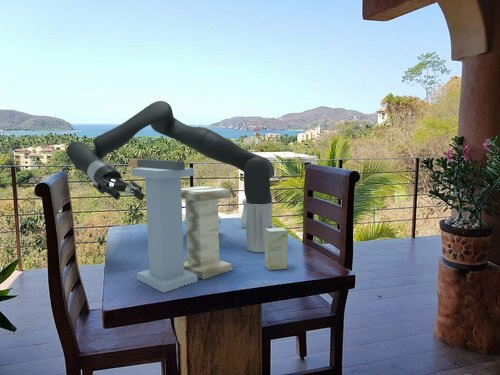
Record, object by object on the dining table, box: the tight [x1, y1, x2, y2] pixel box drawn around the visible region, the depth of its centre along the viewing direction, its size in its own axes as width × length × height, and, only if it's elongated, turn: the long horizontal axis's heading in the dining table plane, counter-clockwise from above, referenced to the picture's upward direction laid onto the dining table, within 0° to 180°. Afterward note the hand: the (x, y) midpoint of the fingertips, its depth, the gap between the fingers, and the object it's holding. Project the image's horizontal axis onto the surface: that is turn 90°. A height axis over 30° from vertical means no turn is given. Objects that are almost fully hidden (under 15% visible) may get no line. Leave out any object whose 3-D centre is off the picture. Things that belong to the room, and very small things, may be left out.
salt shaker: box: [240, 198, 246, 229], centre depth 174 cm, size 6×6×13 cm
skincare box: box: [264, 227, 289, 271], centre depth 120 cm, size 6×4×12 cm
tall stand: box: [131, 167, 198, 294], centre depth 109 cm, size 14×11×32 cm
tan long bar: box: [128, 158, 186, 170], centre depth 109 cm, size 26×2×2 cm, turn 44°
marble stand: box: [181, 185, 233, 280], centre depth 118 cm, size 14×11×25 cm
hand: (130, 197), depth 117 cm, fingers open, 8 cm apart
